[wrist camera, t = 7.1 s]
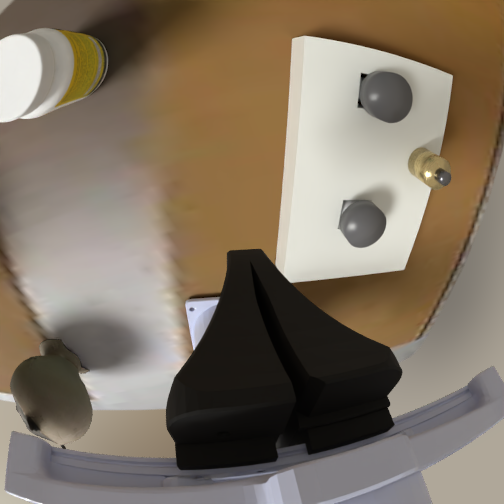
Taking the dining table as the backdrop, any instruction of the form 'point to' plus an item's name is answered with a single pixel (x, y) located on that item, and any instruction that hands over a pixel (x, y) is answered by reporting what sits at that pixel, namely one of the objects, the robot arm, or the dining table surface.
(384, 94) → the knob
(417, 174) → the gold domed cylinder
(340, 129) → the mount block
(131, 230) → the dining table surface
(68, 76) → the supplement bottle
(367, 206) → the knob
